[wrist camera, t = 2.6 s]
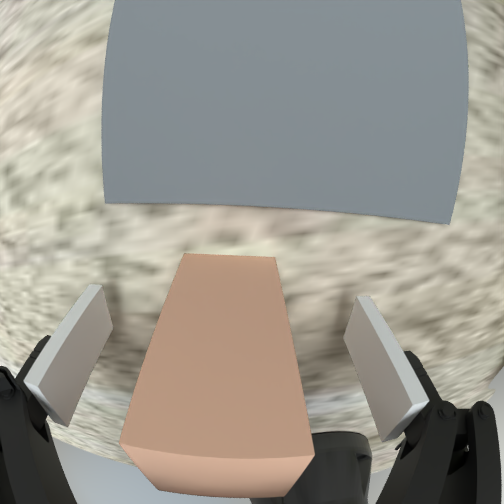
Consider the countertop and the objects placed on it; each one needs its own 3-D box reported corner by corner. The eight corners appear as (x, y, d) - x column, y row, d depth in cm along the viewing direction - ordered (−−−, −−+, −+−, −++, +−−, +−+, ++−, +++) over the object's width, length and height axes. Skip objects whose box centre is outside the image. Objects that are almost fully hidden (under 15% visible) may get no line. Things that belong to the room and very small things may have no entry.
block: (267, 326, 16) (284, 496, 7) (189, 323, 16) (157, 490, 7) (274, 257, 14) (314, 454, 5) (184, 253, 14) (119, 443, 5)
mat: (443, 220, 13) (449, 224, 13) (110, 199, 12) (105, 203, 12) (451, -17, 6) (456, -20, 6) (140, -67, 5) (137, -72, 5)
